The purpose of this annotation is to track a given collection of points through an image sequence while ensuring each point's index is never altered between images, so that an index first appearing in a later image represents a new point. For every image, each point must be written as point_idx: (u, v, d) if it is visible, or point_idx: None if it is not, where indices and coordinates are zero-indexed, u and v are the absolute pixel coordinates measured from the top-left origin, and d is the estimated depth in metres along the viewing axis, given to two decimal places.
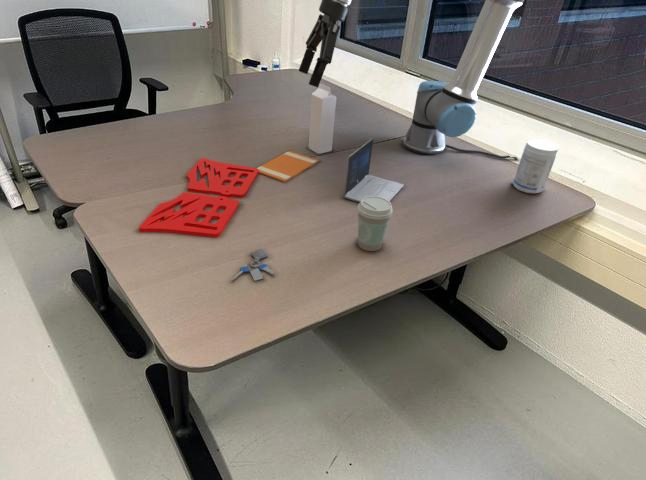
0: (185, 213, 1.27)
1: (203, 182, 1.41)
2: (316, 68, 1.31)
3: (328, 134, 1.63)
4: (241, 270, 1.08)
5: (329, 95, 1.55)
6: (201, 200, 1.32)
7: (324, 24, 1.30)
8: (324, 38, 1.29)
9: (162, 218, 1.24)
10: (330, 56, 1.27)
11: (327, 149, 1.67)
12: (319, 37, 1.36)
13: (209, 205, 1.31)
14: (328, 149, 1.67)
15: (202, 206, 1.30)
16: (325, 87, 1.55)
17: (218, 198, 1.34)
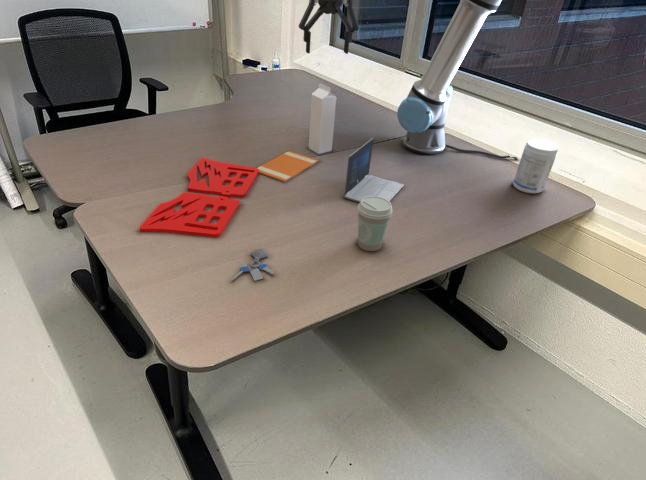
0: (185, 213, 1.27)
1: (203, 182, 1.41)
2: None
3: (328, 134, 1.63)
4: (241, 270, 1.08)
5: (329, 95, 1.55)
6: (201, 200, 1.32)
7: None
8: (316, 12, 1.56)
9: (162, 218, 1.24)
10: (301, 23, 1.56)
11: (327, 149, 1.67)
12: (340, 16, 1.58)
13: (209, 205, 1.31)
14: (328, 149, 1.67)
15: (202, 206, 1.30)
16: (325, 87, 1.55)
17: (218, 198, 1.34)
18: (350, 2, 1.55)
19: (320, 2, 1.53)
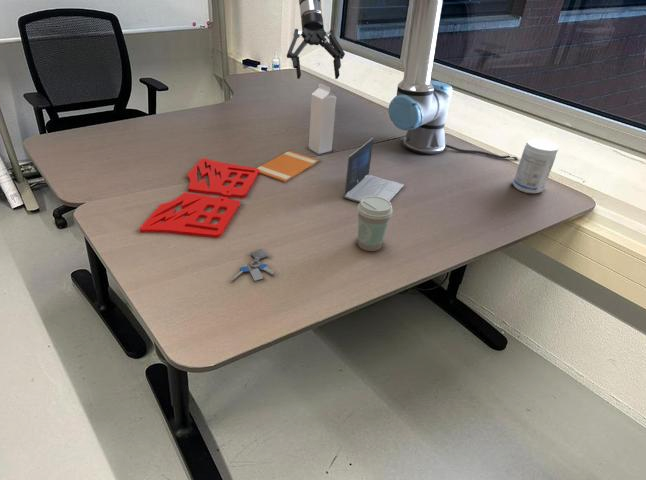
0: (186, 214, 1.27)
1: (204, 182, 1.41)
2: None
3: (328, 134, 1.63)
4: (241, 270, 1.08)
5: (329, 95, 1.55)
6: (202, 201, 1.32)
7: None
8: None
9: (163, 219, 1.24)
10: (288, 50, 1.61)
11: (327, 149, 1.67)
12: (325, 45, 1.65)
13: (210, 206, 1.31)
14: (328, 149, 1.67)
15: (203, 207, 1.30)
16: (325, 87, 1.55)
17: (219, 199, 1.34)
18: (332, 32, 1.65)
19: (303, 32, 1.63)
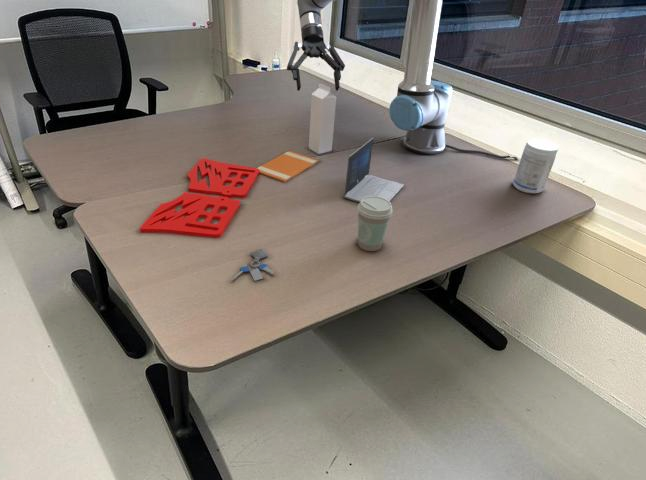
0: (186, 213, 1.27)
1: (204, 182, 1.41)
2: None
3: (328, 134, 1.63)
4: (241, 270, 1.08)
5: (329, 95, 1.55)
6: (202, 200, 1.32)
7: None
8: None
9: (163, 218, 1.24)
10: None
11: (327, 149, 1.67)
12: (325, 58, 1.65)
13: (210, 205, 1.31)
14: (328, 149, 1.67)
15: (203, 206, 1.29)
16: (325, 87, 1.55)
17: (219, 198, 1.34)
18: (332, 44, 1.65)
19: (303, 45, 1.63)
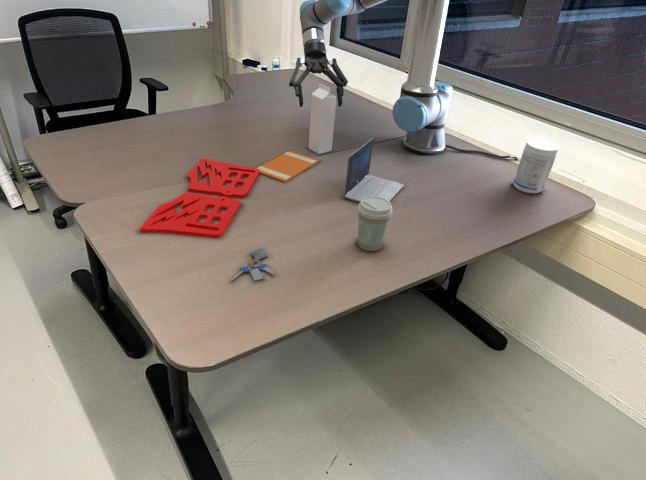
0: (186, 214, 1.27)
1: (204, 182, 1.41)
2: None
3: (328, 134, 1.63)
4: (241, 270, 1.08)
5: (329, 95, 1.55)
6: (202, 200, 1.32)
7: None
8: None
9: (163, 219, 1.24)
10: None
11: (327, 149, 1.67)
12: (327, 74, 1.64)
13: (210, 206, 1.31)
14: (328, 149, 1.67)
15: (203, 207, 1.29)
16: (325, 87, 1.55)
17: (219, 198, 1.34)
18: (334, 60, 1.64)
19: (306, 61, 1.62)
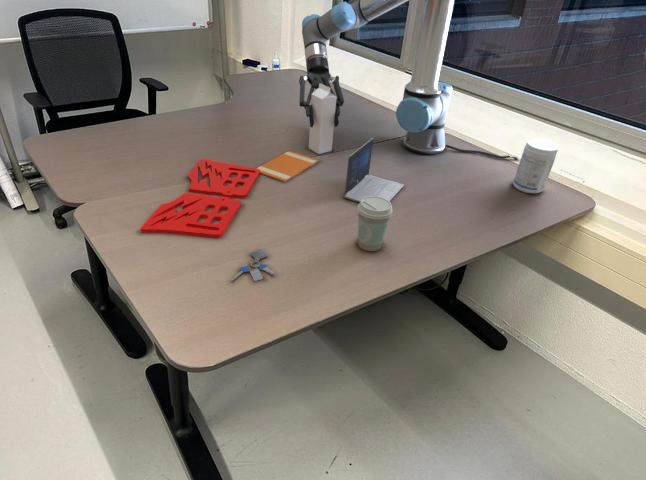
0: (187, 214, 1.27)
1: (204, 183, 1.41)
2: None
3: (328, 134, 1.63)
4: (241, 270, 1.08)
5: (329, 95, 1.55)
6: (203, 201, 1.32)
7: None
8: None
9: (164, 219, 1.24)
10: (300, 99, 1.59)
11: (327, 149, 1.67)
12: None
13: (211, 206, 1.31)
14: (328, 149, 1.67)
15: (204, 207, 1.29)
16: (325, 87, 1.55)
17: (220, 199, 1.34)
18: (337, 78, 1.62)
19: (309, 77, 1.60)
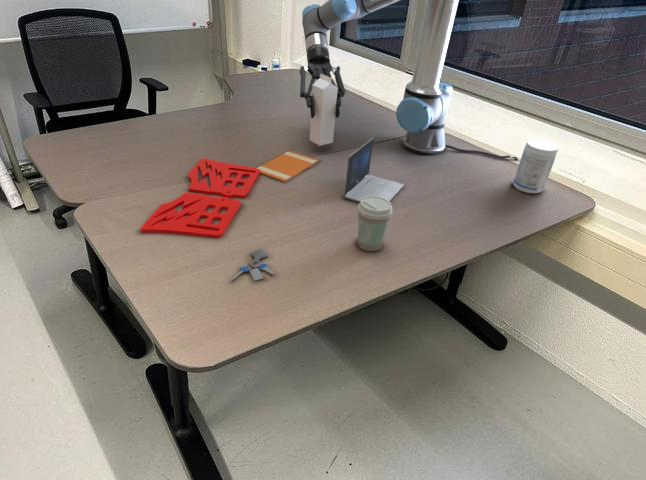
0: (187, 214, 1.27)
1: (205, 183, 1.41)
2: None
3: (329, 125, 1.61)
4: (241, 270, 1.08)
5: (330, 85, 1.53)
6: (203, 201, 1.32)
7: None
8: None
9: (164, 219, 1.24)
10: (301, 89, 1.57)
11: (328, 141, 1.65)
12: None
13: (211, 206, 1.31)
14: (329, 141, 1.65)
15: (204, 207, 1.29)
16: (326, 77, 1.54)
17: (220, 199, 1.34)
18: (338, 68, 1.60)
19: (309, 67, 1.58)
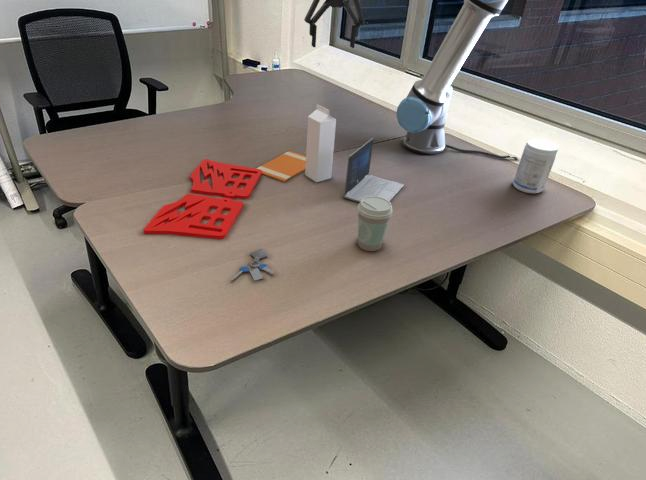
0: (189, 215, 1.27)
1: (207, 183, 1.40)
2: None
3: (327, 160, 1.46)
4: (241, 270, 1.08)
5: (328, 118, 1.38)
6: (205, 202, 1.32)
7: None
8: (322, 5, 1.55)
9: (166, 220, 1.24)
10: (307, 16, 1.54)
11: (326, 177, 1.49)
12: (346, 10, 1.56)
13: (213, 207, 1.31)
14: (327, 176, 1.49)
15: (206, 208, 1.29)
16: (323, 109, 1.38)
17: (222, 200, 1.33)
18: None
19: None
